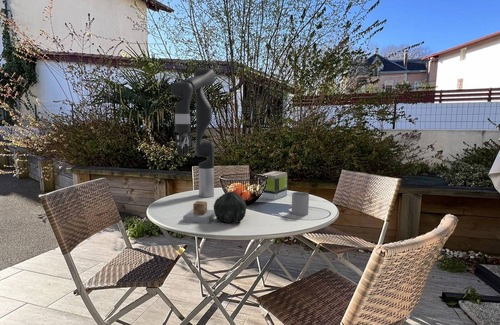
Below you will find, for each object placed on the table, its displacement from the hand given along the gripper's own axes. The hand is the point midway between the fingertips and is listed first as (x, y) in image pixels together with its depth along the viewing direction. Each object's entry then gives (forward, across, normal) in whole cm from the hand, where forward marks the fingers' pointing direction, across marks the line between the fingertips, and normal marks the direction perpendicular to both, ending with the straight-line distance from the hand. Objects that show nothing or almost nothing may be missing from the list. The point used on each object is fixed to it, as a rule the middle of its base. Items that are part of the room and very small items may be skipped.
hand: (183, 154), depth 160 cm
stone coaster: (+28, -16, -14) cm, 35 cm away
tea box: (+29, +34, -45) cm, 63 cm away
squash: (+28, -17, -28) cm, 43 cm away
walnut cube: (+25, -16, -14) cm, 33 cm away
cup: (+28, +1, -60) cm, 66 cm away
